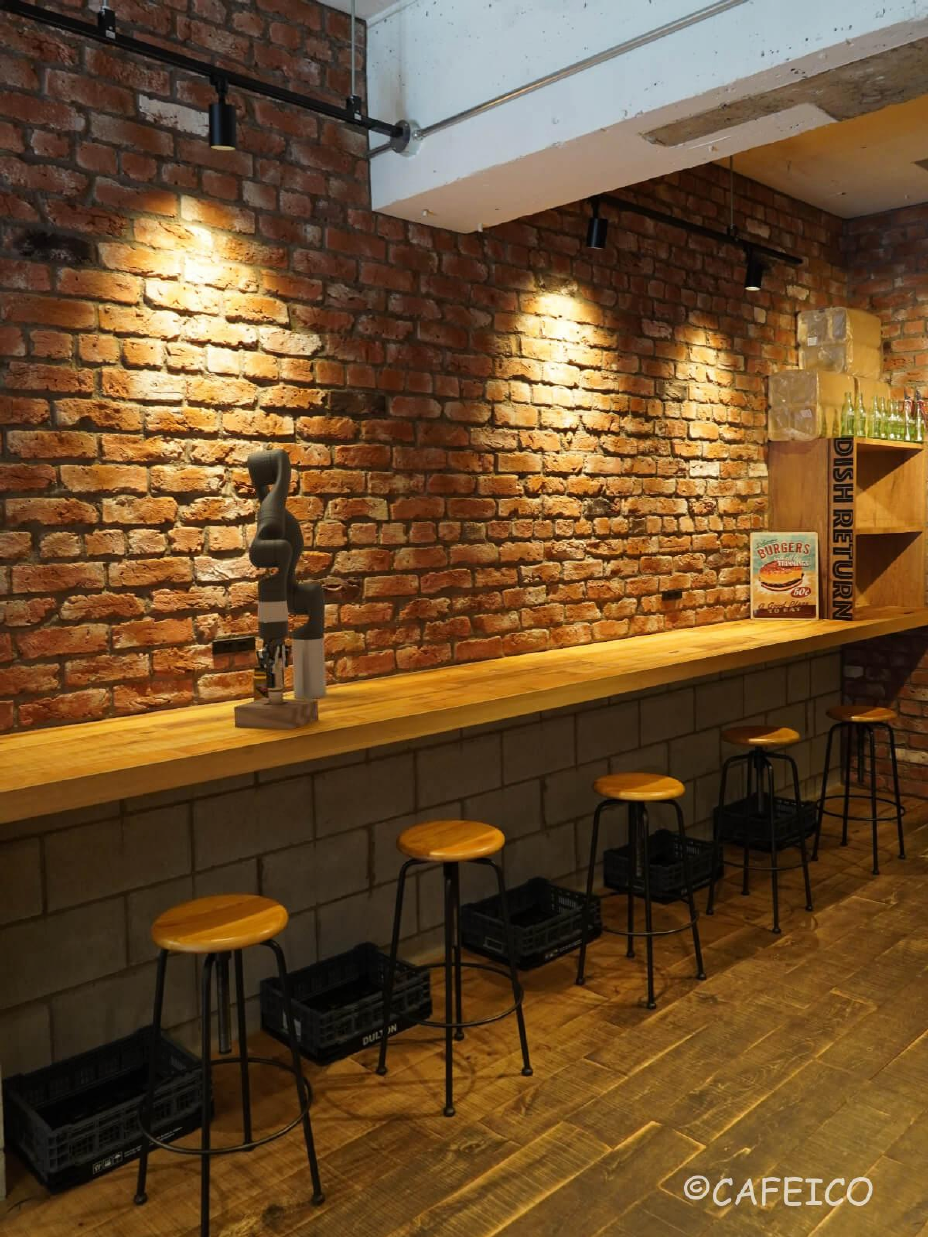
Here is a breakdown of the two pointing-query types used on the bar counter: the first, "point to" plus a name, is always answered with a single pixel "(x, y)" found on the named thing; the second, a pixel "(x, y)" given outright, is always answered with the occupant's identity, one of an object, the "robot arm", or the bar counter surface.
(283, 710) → the wooden block with hole
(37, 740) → the bar counter surface
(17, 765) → the bar counter surface
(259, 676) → the condiment
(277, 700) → the peg
